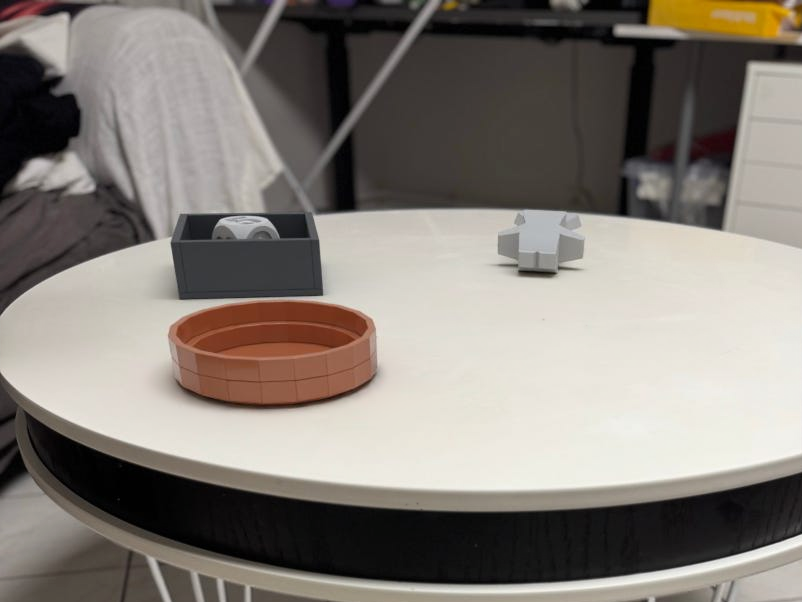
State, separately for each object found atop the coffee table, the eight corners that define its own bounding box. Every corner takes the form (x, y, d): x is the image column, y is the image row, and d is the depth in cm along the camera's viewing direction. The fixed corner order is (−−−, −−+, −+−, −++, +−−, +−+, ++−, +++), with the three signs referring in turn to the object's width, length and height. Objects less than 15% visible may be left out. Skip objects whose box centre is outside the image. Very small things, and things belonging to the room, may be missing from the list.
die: (253, 265, 95) (247, 213, 93) (285, 273, 93) (280, 220, 90) (214, 273, 92) (207, 220, 89) (246, 282, 90) (239, 227, 87)
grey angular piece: (492, 234, 95) (509, 192, 106) (491, 284, 98) (508, 237, 109) (583, 239, 94) (590, 196, 105) (579, 289, 97) (586, 242, 108)
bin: (179, 299, 86) (170, 242, 83) (187, 265, 97) (179, 213, 94) (323, 295, 89) (319, 239, 86) (315, 262, 100) (312, 212, 97)
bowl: (169, 413, 63) (160, 363, 61) (182, 346, 75) (175, 302, 73) (387, 403, 66) (385, 354, 63) (366, 339, 78) (364, 296, 76)
